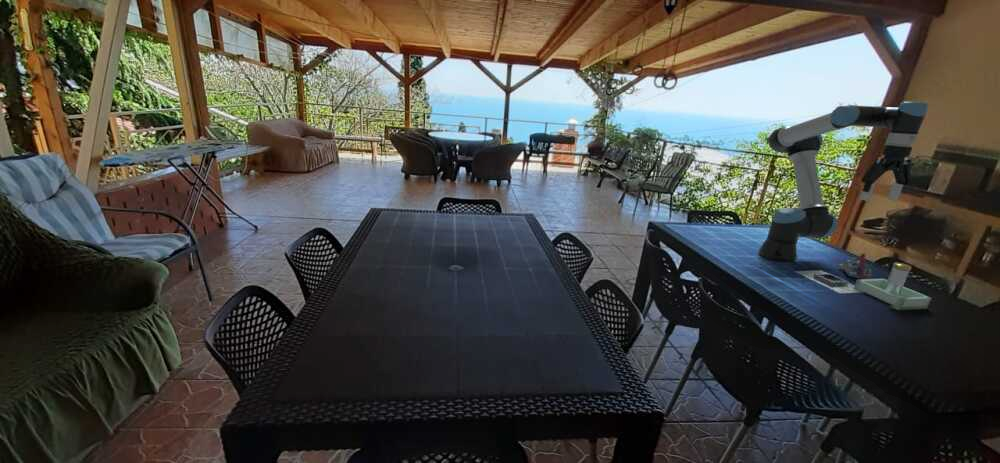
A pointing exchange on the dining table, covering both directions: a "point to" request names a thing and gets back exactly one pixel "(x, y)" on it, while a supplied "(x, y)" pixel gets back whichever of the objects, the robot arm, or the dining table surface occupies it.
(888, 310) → the dining table surface
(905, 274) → the jar with gold lid
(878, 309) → the dining table surface
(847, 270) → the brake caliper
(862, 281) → the bin
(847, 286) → the stud plate
